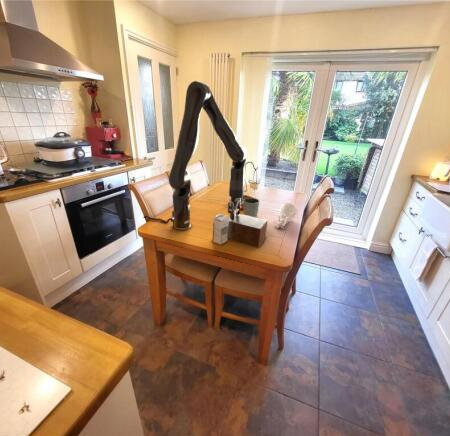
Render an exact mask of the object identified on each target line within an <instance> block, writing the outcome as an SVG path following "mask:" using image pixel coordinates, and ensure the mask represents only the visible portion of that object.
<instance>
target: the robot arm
mask: <svg viewBox="0 0 450 436" xmlns="http://www.w3.org/2000/svg"><path fill="white" fill-rule="evenodd" d="M202 110H203V111H204V112H205V114H206V115H207V117H208V118H209V121H210V123H211V127H213V130H214V132H215V134H216V135H217V137H218V138H219V140H220V142H221V143H222V144H223V146H224V149H225V151H226V153H227V155H228V157H229V158H230V160H231V167H230V173H229V183H228V184H229V185H228V197H230V198H231V199H230V201H229V202H227V214H229V219H231V220H234V216H235V210H236V209H237V208H238V209H239V211H238V215H239V214H241V208H242V206H243V200H244V193H245V170H246V169H245V168H246V163H247V162H246V161H247V155H248V154H247V149H246V148H245V147H244V146H243V145H240V144H239V142H238V140H237V136H236V134H235V132H234V131H233V129H232V128H231V126H230V124H229V123H228V121H227V119H226V118H225V116H224V115H223V113H222V111H221V109H220V108H219V105H218V103H217V101H216V99H215V97H214V95H213V93H212V90H211V88H210V86H209V85H208V84H207V83H205V82H203V81H198V80H194V81H191V82H190V83H189V84H188V86H187V88H186V93H185V101H184V110H183V116H182V121H181V124H180V130H179V133H178V136H177V137H178V138H177V142H176V148H175V153H174V158H173V162H172V166H171V169H170V172H169V175H168V184H169V186H170V188H172V189H173V190H174V191H173V193H172V196H171V197H172V212H171V217H169V218H168V219H167V220H164V219H162V218H155V217H151V216H149V215H144V216H143V217H142V218H143V219H148V220H152V221H160V222H163V223H165V224H168V223H169V222H171V223H172V227H173V228H174V229H175V230H178V231H185V230H188V229H190V228H191V226H192V225H191V203H190V201H191V199H190V195H191V191H192V180H191V179H192V178H191V175H190V173H189V171H188V170H187V167H188V165H189V163H190V161H191V159H192V158H193V156H194V154H195V152H196V149H197V146H198V142H199V138H200V137H199V136H200V124H199V123H200V122H199V121H200V115H201V112H202Z"/></svg>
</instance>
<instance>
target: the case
mask: <svg viewBox="0 0 450 436" xmlns="http://www.w3.org/2000/svg"><path fill="white" fill-rule="evenodd" d="M267 228H268V221H267V222H266V224H265V225H264V226H263V228H262V229H261V230H257V229H253V228H249V227H245V226H241V225H237V224H233V223H229V224H228V240H230V241H234V242H237V243H241V244H245V245H248V246H252V247H256V248H259V247H260V246H261V245H262V243H263V242H264V241H265V239H266V235H267Z"/></svg>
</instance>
